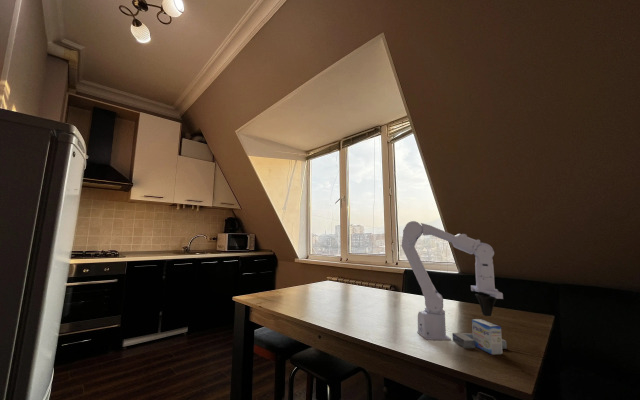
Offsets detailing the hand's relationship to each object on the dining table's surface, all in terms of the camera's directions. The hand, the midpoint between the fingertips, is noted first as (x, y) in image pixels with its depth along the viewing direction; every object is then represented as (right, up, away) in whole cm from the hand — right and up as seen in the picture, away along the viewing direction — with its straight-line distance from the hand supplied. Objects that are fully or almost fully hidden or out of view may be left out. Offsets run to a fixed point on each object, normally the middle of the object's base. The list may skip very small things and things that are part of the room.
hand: (487, 315), depth 93 cm
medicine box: (-3, -9, -5) cm, 11 cm away
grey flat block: (-4, -10, -2) cm, 10 cm away
